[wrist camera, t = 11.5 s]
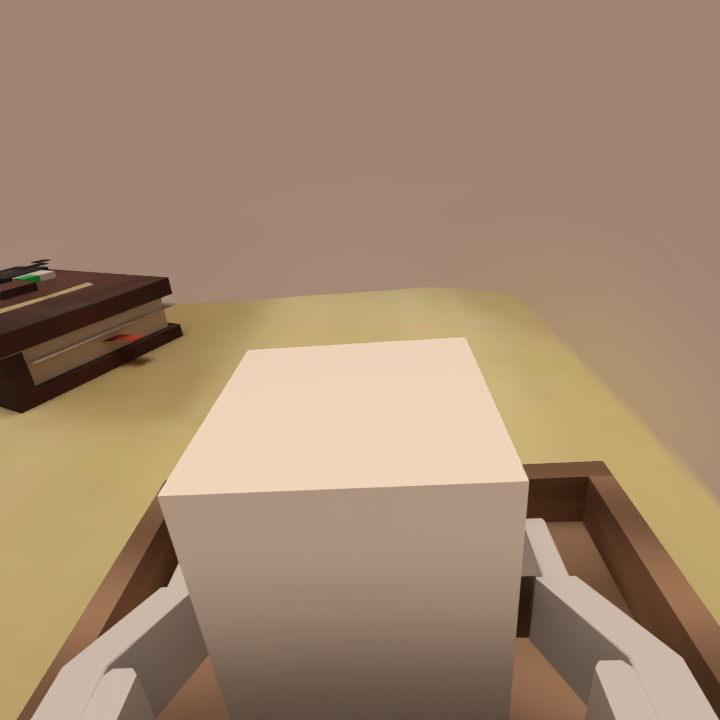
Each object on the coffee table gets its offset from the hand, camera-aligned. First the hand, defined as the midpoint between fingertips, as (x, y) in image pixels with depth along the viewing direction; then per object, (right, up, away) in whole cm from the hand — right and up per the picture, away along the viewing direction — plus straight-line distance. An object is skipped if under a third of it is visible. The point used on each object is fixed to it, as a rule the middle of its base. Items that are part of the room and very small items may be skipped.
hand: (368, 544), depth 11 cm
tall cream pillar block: (0, -5, +1) cm, 6 cm away
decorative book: (-34, +5, +39) cm, 52 cm away
